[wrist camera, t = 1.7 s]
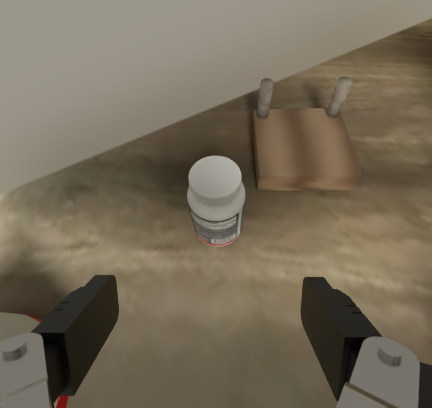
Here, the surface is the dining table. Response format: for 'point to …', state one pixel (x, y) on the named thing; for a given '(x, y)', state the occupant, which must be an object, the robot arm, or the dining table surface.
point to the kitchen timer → (19, 324)
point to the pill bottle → (216, 200)
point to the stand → (303, 145)
